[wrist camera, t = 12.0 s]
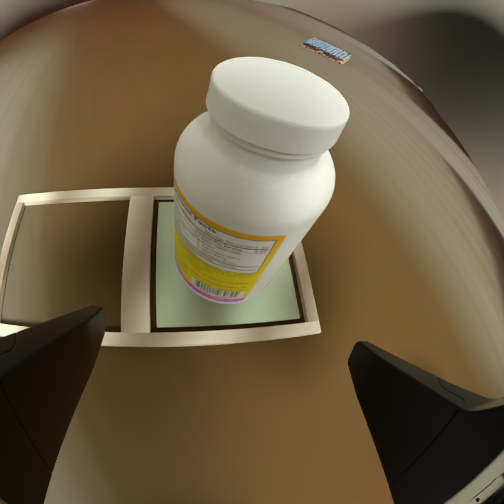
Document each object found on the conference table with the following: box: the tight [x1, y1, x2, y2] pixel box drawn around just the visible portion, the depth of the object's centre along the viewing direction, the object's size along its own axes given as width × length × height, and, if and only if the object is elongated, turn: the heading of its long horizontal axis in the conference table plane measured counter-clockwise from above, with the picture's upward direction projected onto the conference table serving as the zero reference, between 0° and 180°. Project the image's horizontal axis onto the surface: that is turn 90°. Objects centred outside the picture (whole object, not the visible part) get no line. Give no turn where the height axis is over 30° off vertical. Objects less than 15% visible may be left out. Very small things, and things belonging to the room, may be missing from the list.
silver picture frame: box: [0, 187, 321, 347], centre depth 17 cm, size 23×12×1 cm, turn 97°
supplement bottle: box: [174, 57, 349, 304], centre depth 13 cm, size 7×7×13 cm
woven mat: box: [301, 38, 351, 64], centre depth 49 cm, size 10×11×2 cm
